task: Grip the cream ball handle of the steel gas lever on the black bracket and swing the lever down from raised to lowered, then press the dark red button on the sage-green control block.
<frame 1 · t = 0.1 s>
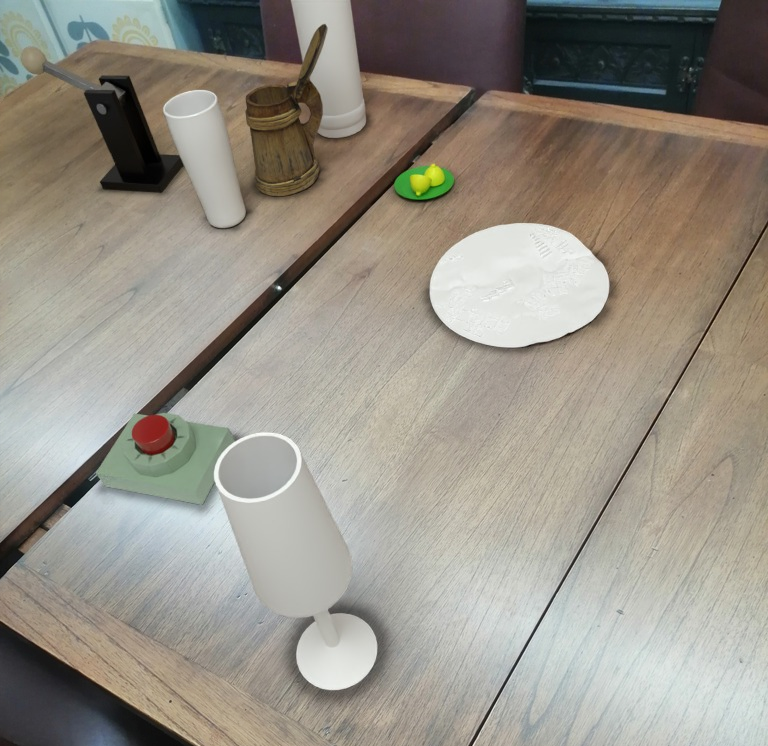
lever bracket: (144, 175, 103), on the table
lemon: (424, 188, 93), on the table
bottle: (341, 126, 105), on the table
drinking glass: (228, 220, 94), on the table
gas lever: (72, 79, 94), point 13 cm above the table, hinge at 25.0°
champagne flute: (337, 651, 56), on the table
wooden mug: (303, 177, 98), on the table
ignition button: (153, 434, 66), point 5 cm above the table, slide at 0.2 cm
control block: (171, 464, 70), on the table
plaque: (517, 288, 79), on the table
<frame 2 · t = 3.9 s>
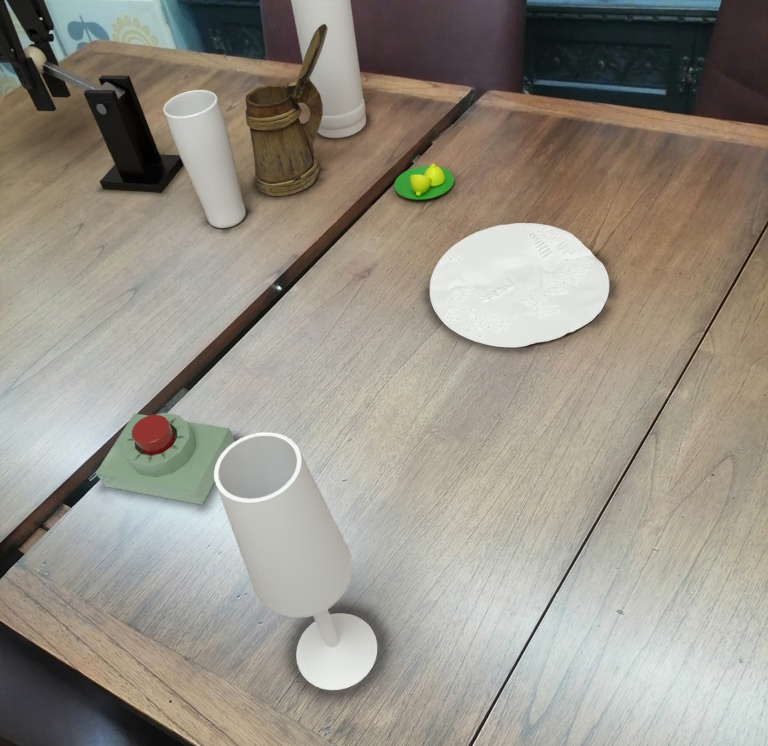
hand: (54, 102, 97), 10 cm above the table, tool pointing down, fingers closed on gas lever, 3 cm apart
gas lever: (72, 79, 94), point 13 cm above the table, hinge at 24.9°, touching gripper
everything else where it was.
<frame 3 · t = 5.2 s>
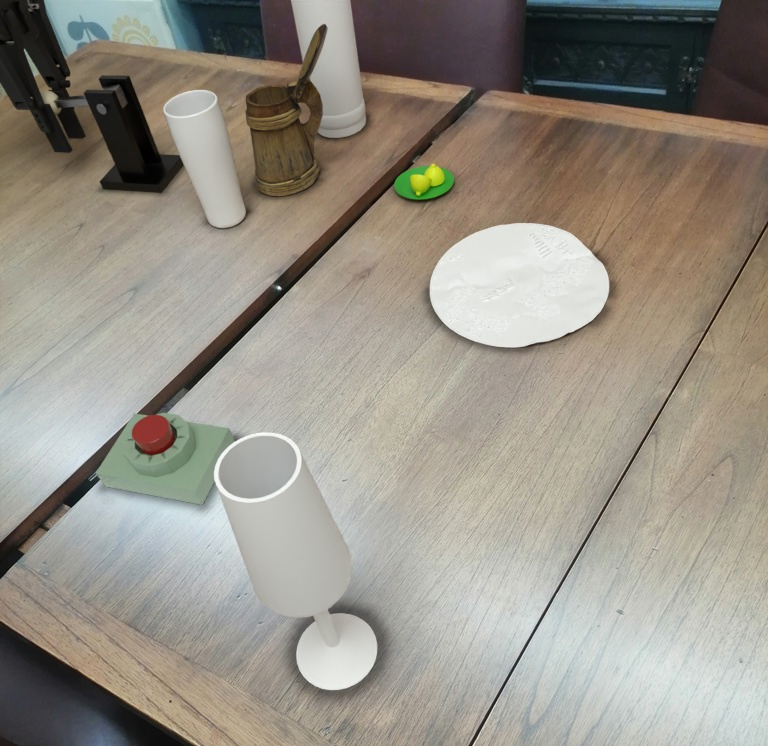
hand: (70, 143, 102), 4 cm above the table, tool pointing down, fingers closed on gas lever, 3 cm apart
gas lever: (79, 101, 96), point 11 cm above the table, hinge at -4.7°, touching gripper
everything else where it was.
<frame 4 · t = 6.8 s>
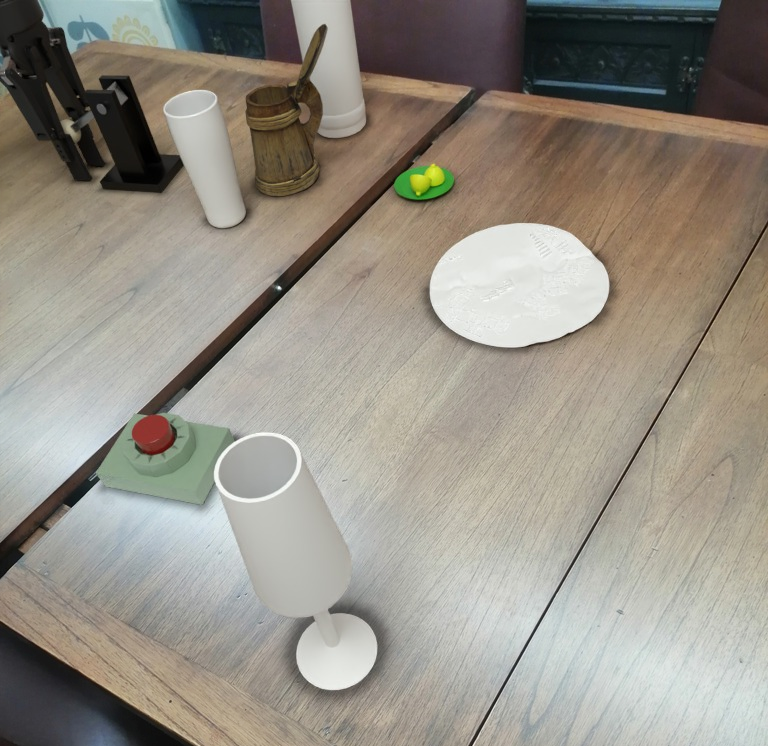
hand: (89, 171, 106), 0 cm above the table, tool pointing down, fingers open, 3 cm apart
gas lever: (89, 116, 98), point 9 cm above the table, hinge at -26.1°, touching gripper
everything else where it was.
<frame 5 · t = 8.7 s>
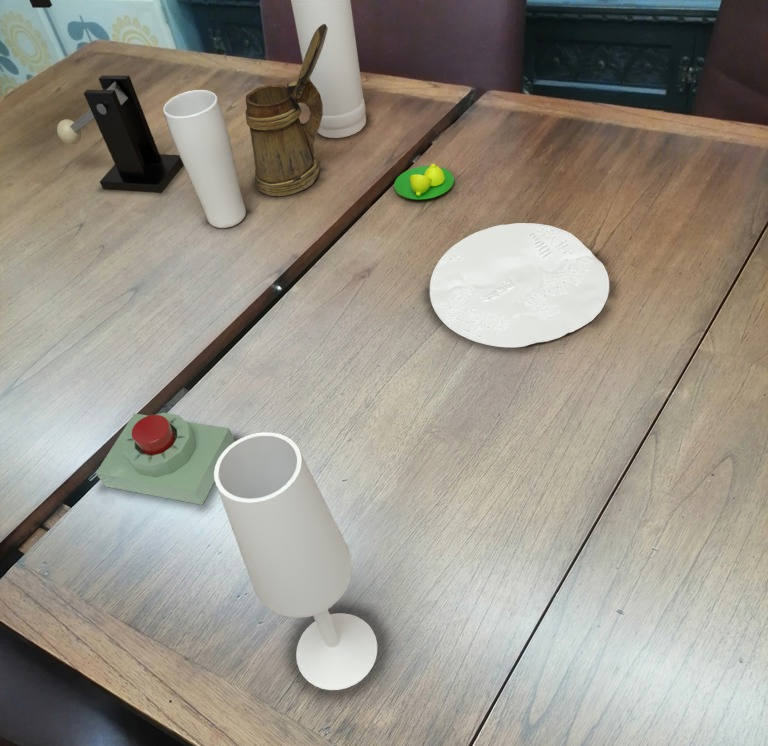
hand: (14, 28, 90), 19 cm above the table, tool pointing down, fingers open, 13 cm apart
gas lever: (89, 116, 98), point 9 cm above the table, hinge at -26.1°
everything else where it was.
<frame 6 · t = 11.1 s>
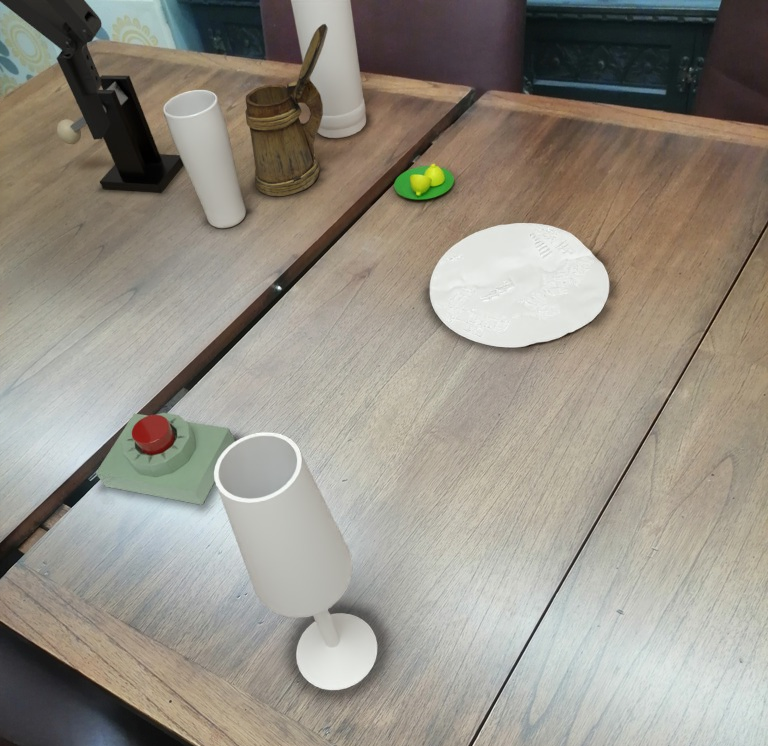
hand: (32, 140, 63), 23 cm above the table, tool pointing down, fingers open, 13 cm apart
nothing on the table moved.
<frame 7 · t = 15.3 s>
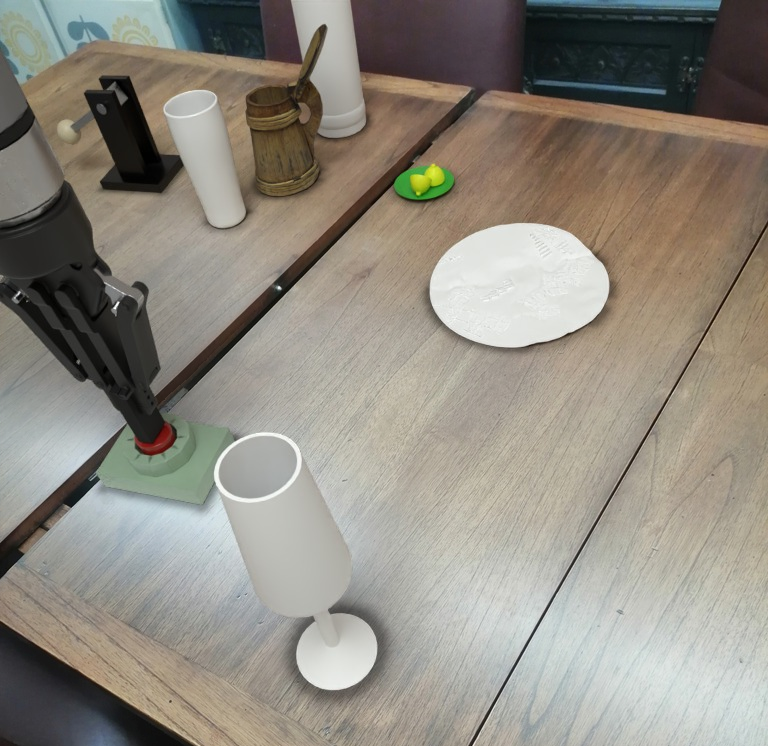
hand: (152, 431, 66), 5 cm above the table, tool pointing down, fingers closed
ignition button: (156, 439, 66), point 4 cm above the table, slide at -0.5 cm, touching gripper
everything else where it was.
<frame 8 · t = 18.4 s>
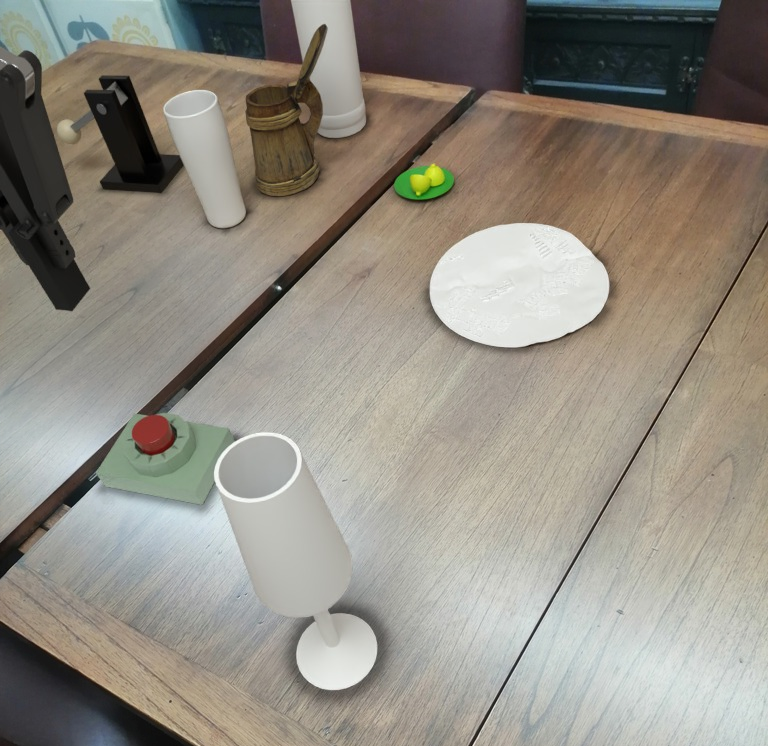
hand: (73, 298, 53), 20 cm above the table, tool pointing down, fingers closed
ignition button: (153, 434, 66), point 5 cm above the table, slide at 0.2 cm
everything else where it was.
at the end: gas lever at -26° (first picture: +25°); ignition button pushed in 1.0 cm at the most during the clip, back to 0.2 cm at the end; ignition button slide at 0.2 cm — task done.
